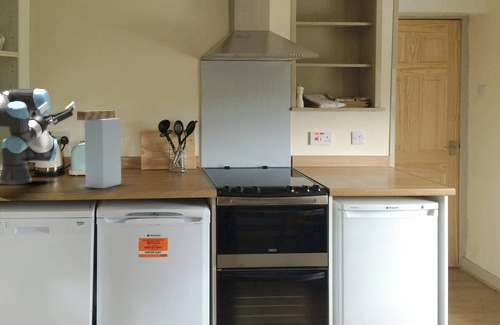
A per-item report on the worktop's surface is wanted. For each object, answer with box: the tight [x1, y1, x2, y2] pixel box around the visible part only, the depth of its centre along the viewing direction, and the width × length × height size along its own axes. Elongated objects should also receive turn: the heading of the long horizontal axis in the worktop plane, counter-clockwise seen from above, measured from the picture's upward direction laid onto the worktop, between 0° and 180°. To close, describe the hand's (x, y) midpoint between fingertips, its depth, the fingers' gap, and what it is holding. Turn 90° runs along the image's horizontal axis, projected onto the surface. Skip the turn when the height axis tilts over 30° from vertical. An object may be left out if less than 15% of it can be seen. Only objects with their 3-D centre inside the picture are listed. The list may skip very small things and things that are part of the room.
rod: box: [76, 109, 116, 121], centre depth 280 cm, size 26×4×4 cm, turn 161°
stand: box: [83, 117, 122, 189], centre depth 287 cm, size 16×10×33 cm, turn 161°
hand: (60, 104), depth 255 cm, fingers open, 13 cm apart
